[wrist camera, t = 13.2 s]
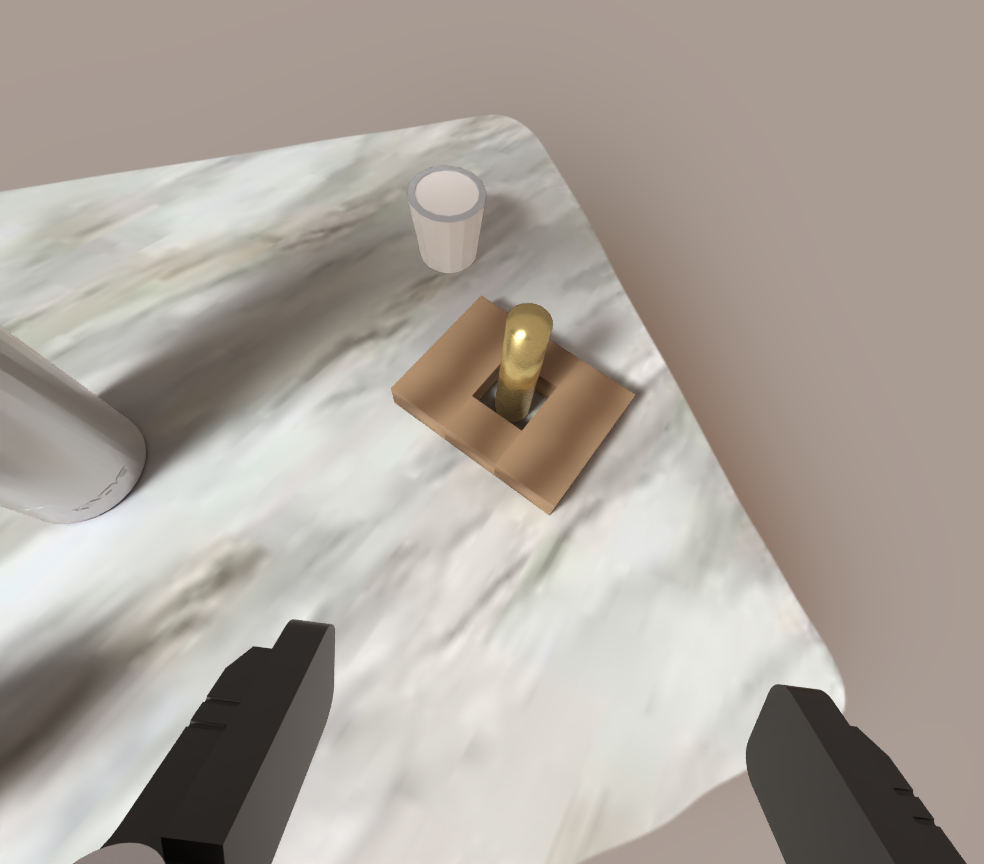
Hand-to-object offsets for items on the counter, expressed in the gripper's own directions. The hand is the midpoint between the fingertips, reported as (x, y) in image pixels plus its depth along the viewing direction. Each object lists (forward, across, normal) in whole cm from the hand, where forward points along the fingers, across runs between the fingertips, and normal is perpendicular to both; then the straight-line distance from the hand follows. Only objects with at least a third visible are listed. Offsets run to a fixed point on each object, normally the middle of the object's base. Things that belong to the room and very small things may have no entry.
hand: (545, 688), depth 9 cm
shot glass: (+46, +8, -6) cm, 47 cm away
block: (+35, 0, +6) cm, 35 cm away
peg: (+35, 0, +6) cm, 35 cm away
